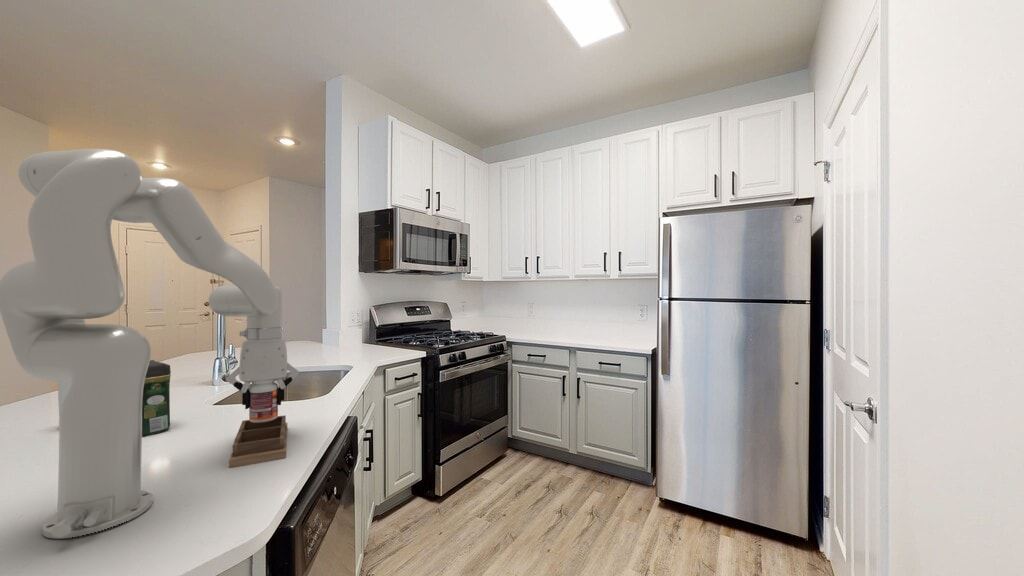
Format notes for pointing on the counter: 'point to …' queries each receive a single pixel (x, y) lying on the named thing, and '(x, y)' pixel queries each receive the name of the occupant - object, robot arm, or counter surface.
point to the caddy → (259, 442)
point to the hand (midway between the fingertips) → (263, 405)
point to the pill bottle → (263, 401)
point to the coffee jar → (156, 398)
